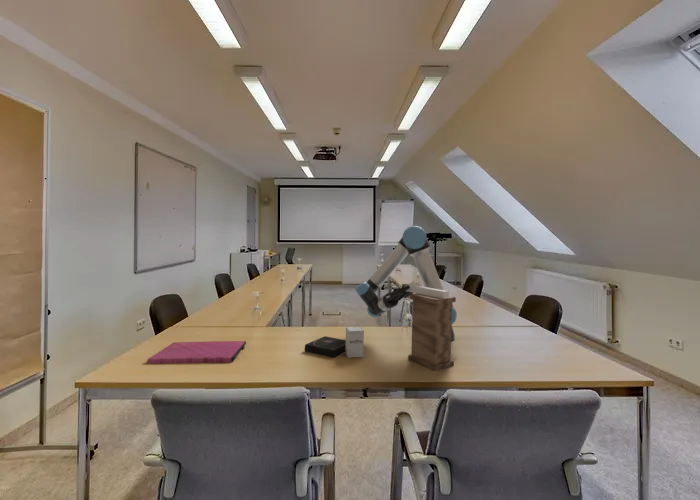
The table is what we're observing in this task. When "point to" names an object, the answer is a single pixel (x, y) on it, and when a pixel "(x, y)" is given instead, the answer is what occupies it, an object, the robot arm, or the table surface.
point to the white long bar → (429, 291)
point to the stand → (431, 331)
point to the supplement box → (354, 342)
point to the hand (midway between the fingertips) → (417, 283)
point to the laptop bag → (199, 352)
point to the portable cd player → (326, 347)
